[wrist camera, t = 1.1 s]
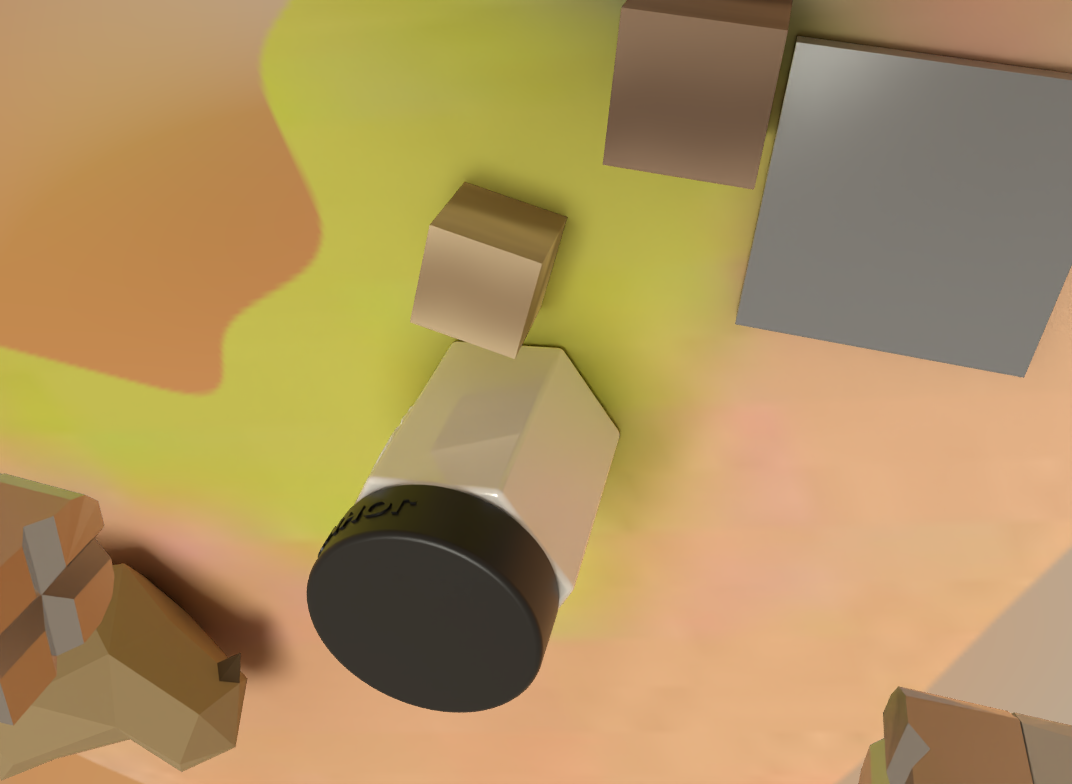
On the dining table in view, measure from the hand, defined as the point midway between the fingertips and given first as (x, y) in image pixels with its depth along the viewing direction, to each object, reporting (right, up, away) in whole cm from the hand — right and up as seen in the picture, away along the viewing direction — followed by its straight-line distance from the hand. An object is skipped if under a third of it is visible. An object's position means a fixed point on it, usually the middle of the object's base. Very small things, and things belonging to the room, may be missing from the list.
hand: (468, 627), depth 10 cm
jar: (0, +1, +32) cm, 32 cm away
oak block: (-1, +8, +28) cm, 29 cm away
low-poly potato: (-20, -10, +45) cm, 50 cm away
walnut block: (+6, +13, +22) cm, 26 cm away
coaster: (+13, +8, +23) cm, 28 cm away
